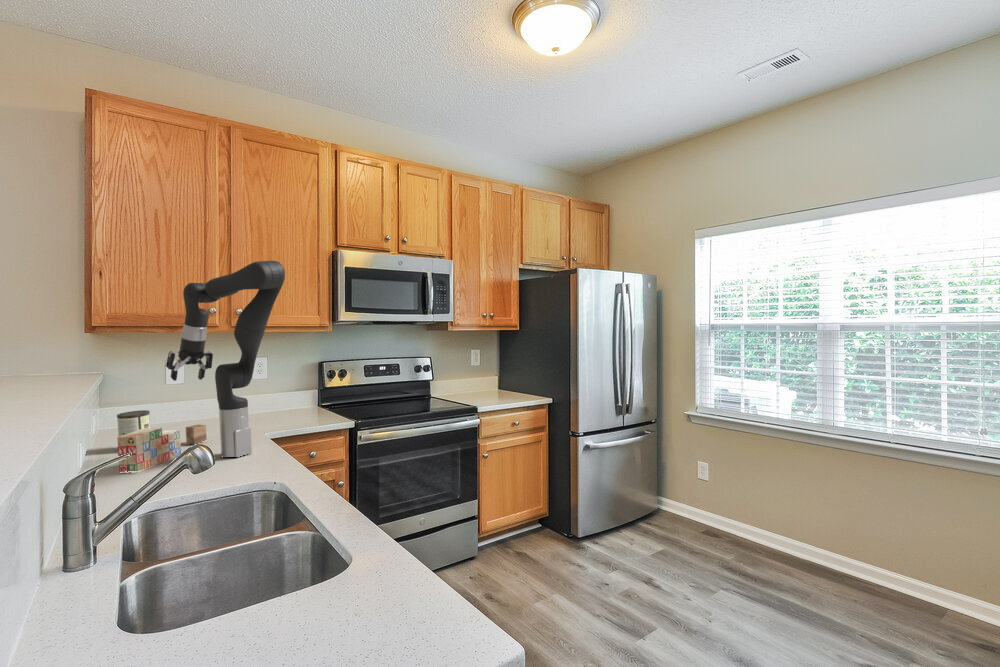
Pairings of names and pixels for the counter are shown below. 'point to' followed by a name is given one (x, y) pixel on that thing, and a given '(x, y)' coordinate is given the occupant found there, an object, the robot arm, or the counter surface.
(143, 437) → the stack of blocks
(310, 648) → the counter surface
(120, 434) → the coffee can
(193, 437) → the walnut block
